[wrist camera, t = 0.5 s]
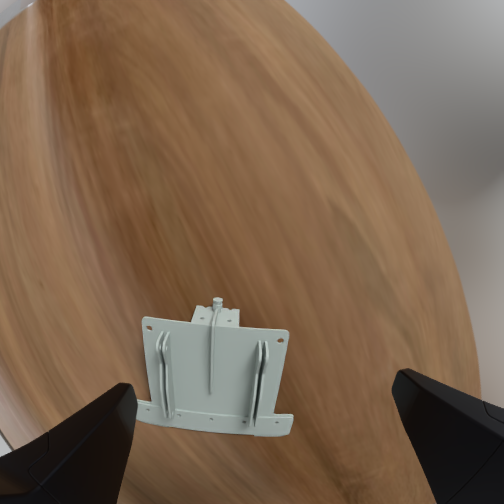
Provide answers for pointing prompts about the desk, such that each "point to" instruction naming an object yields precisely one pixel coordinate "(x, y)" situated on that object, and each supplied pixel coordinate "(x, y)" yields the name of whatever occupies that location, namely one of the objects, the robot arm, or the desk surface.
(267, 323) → the desk surface
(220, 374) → the metal bracket
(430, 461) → the robot arm
